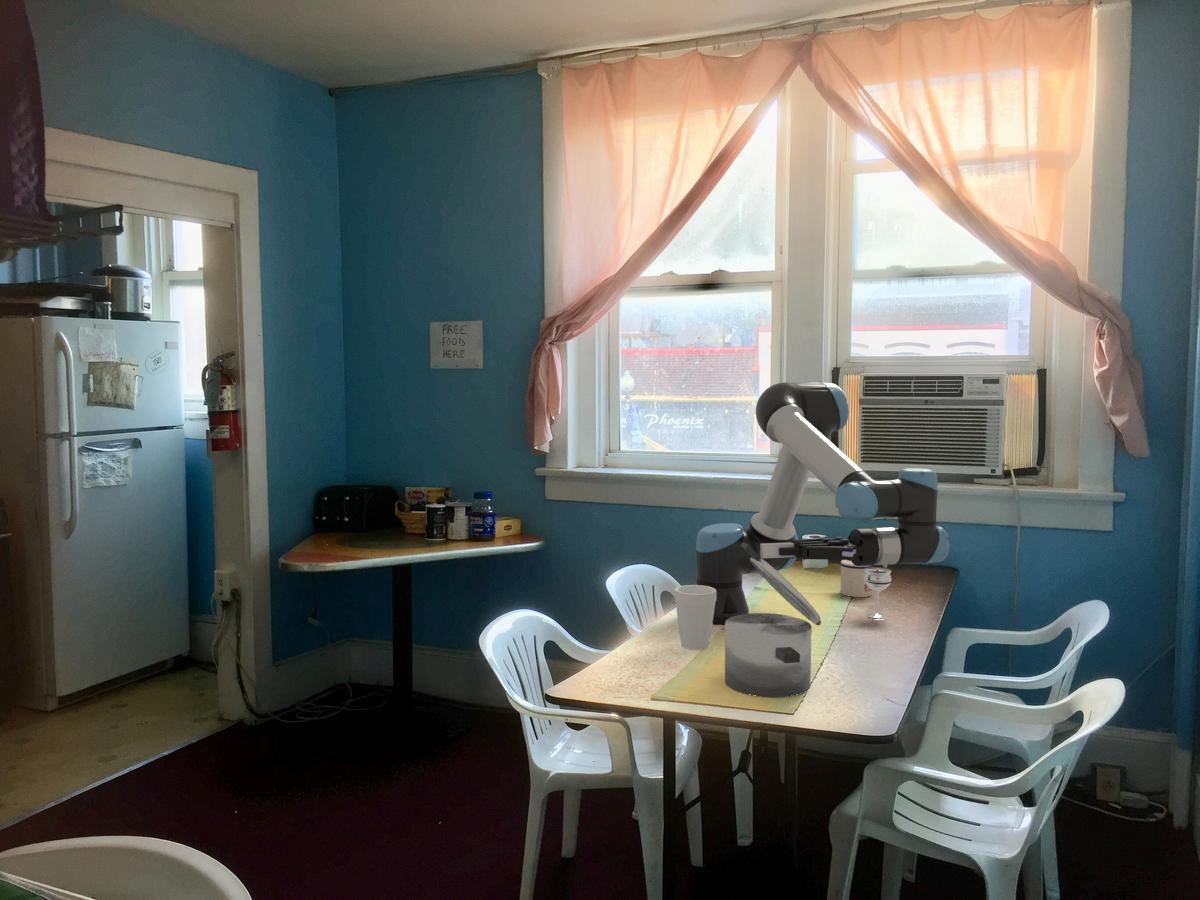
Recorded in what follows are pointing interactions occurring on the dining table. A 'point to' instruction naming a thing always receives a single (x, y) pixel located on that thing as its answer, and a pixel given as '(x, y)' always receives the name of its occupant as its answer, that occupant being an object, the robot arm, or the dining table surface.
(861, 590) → the teacup with lid
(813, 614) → the cooker lid
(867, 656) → the dining table surface
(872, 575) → the wineglass
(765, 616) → the cooker pot
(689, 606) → the foam cup
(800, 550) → the robot arm
